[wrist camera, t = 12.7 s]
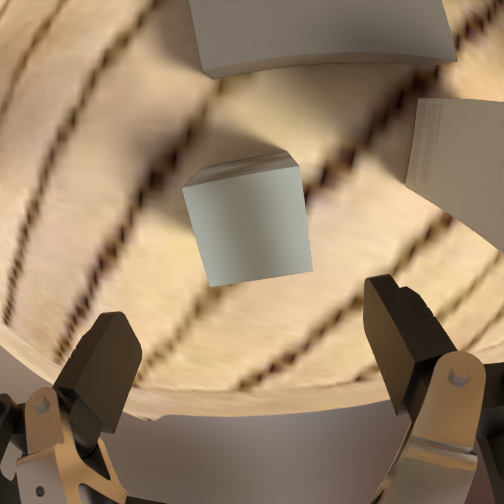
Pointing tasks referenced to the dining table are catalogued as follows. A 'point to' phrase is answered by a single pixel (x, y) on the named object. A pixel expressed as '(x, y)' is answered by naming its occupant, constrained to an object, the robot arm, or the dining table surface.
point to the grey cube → (250, 219)
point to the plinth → (318, 33)
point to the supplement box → (461, 162)
